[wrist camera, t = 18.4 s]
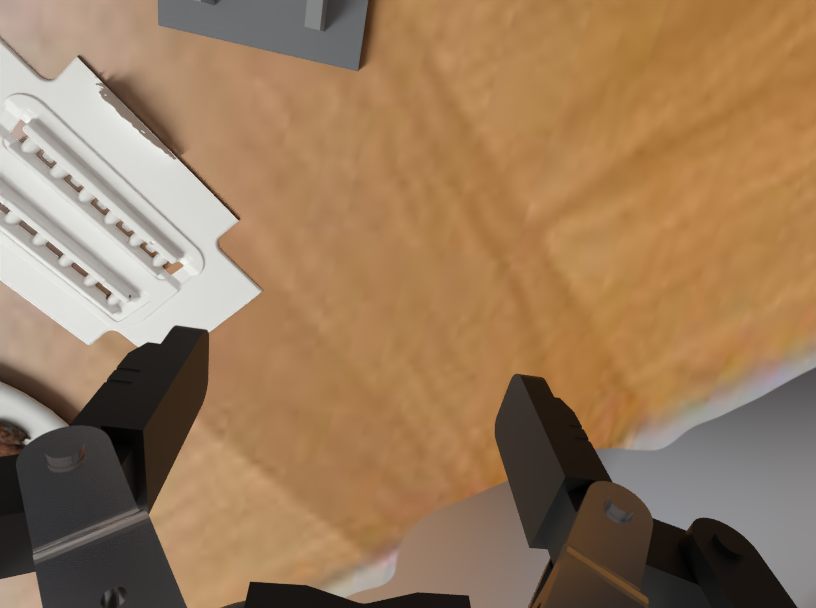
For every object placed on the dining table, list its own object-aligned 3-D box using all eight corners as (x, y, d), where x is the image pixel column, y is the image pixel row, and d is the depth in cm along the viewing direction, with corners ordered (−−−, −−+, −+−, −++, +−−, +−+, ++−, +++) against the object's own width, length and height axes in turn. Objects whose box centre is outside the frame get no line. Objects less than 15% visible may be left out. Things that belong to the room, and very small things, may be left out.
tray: (146, 380, 49) (129, 402, 46) (-134, 160, 38) (-184, 168, 35) (291, 265, 44) (284, 282, 41) (14, -23, 33) (-27, -33, 30)
